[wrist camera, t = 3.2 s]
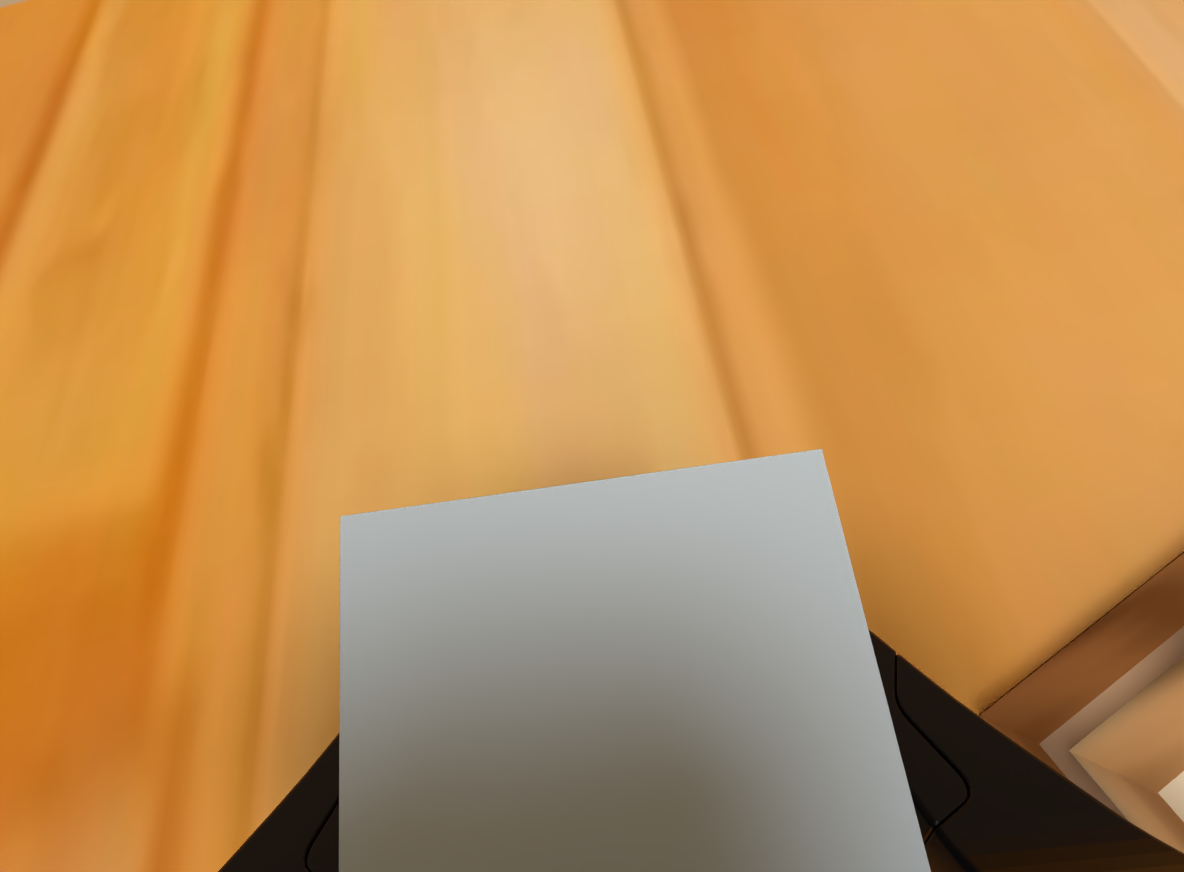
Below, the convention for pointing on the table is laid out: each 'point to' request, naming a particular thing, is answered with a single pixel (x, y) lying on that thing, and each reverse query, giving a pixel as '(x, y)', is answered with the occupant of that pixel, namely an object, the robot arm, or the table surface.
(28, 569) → the table surface
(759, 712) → the slate block
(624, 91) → the table surface
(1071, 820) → the robot arm
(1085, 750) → the stacked square panels
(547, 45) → the table surface
